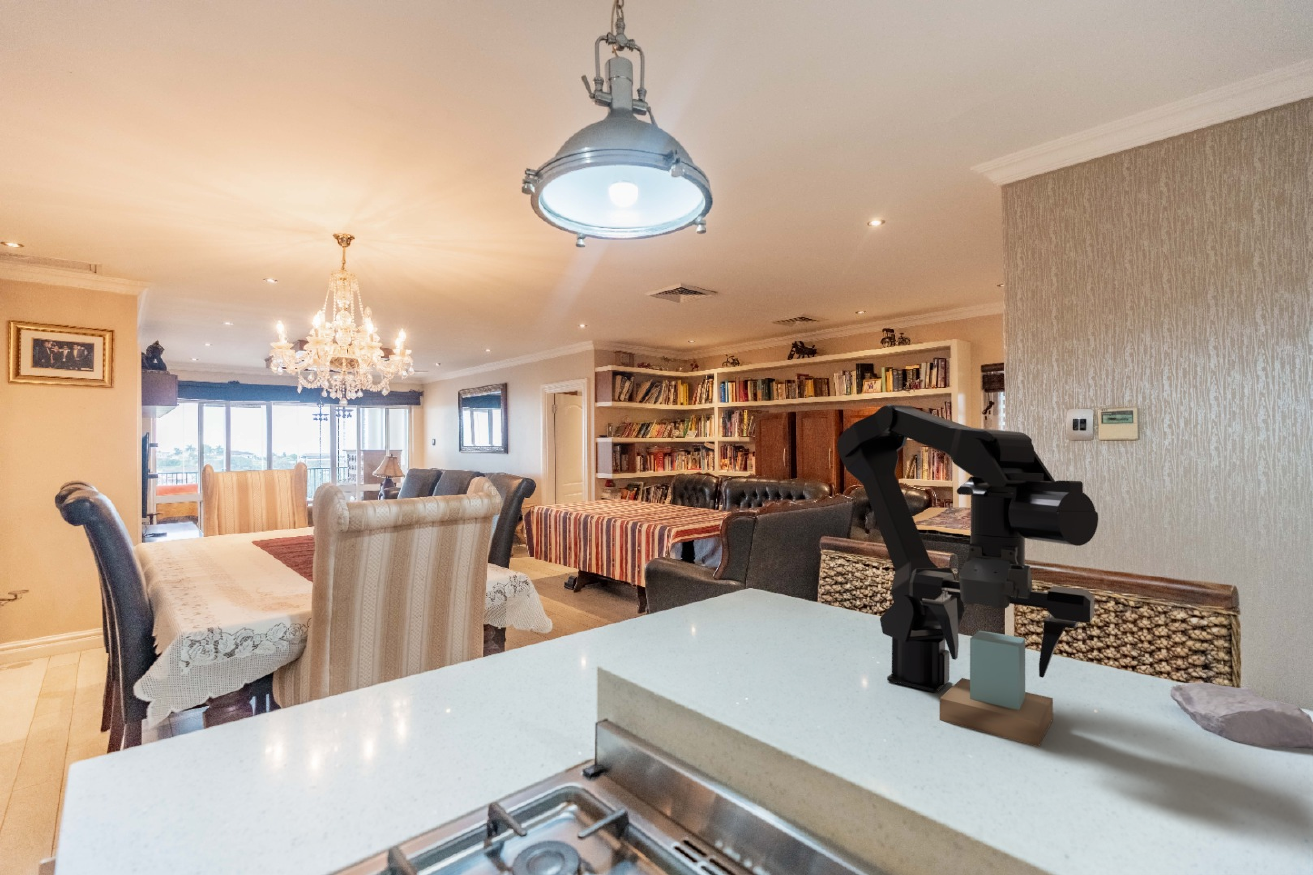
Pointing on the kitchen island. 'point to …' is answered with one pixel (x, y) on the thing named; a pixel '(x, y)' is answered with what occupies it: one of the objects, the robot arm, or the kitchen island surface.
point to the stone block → (1244, 715)
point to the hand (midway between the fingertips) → (996, 667)
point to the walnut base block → (998, 714)
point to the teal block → (997, 669)
